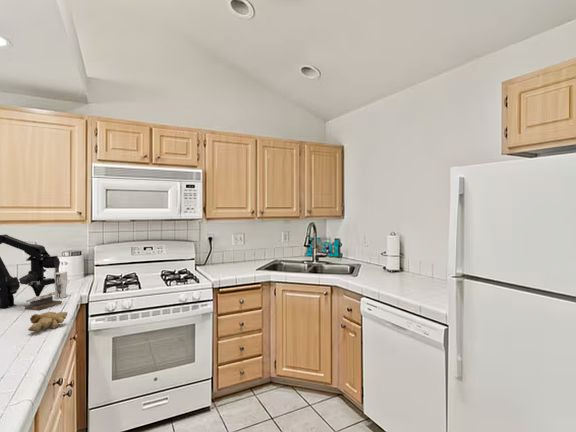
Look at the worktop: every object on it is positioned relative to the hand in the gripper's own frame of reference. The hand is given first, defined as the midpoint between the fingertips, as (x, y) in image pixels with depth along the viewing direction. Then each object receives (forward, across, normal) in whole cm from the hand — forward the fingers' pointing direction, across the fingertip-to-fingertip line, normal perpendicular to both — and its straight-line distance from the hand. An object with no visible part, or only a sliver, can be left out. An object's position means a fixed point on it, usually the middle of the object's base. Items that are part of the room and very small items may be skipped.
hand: (37, 296), depth 183 cm
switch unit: (+5, +4, 0) cm, 7 cm away
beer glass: (+6, -4, +17) cm, 18 cm away
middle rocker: (0, +3, 0) cm, 3 cm away
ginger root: (+5, +36, -24) cm, 44 cm away
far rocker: (0, +3, +4) cm, 5 cm away
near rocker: (0, +3, -4) cm, 5 cm away
